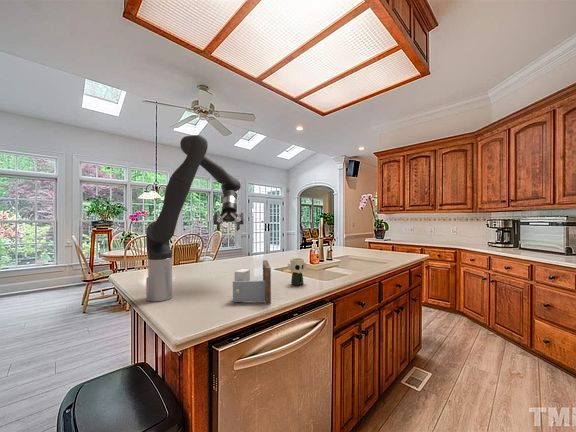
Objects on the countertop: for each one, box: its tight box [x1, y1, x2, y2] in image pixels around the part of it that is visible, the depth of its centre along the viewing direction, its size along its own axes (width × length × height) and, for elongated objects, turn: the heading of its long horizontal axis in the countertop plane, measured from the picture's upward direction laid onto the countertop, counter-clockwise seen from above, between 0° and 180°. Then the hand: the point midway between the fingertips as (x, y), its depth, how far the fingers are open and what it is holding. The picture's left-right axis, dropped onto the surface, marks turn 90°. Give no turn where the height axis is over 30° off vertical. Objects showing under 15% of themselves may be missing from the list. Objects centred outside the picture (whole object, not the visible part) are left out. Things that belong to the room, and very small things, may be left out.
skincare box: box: [234, 268, 251, 281], centre depth 110 cm, size 6×4×12 cm
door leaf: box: [232, 280, 266, 303], centre depth 104 cm, size 3×14×8 cm, turn 94°
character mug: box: [287, 257, 307, 286], centre depth 132 cm, size 11×7×13 cm, turn 119°
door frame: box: [262, 259, 272, 305], centre depth 112 cm, size 2×19×14 cm, turn 9°
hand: (228, 229), depth 122 cm, fingers open, 8 cm apart
